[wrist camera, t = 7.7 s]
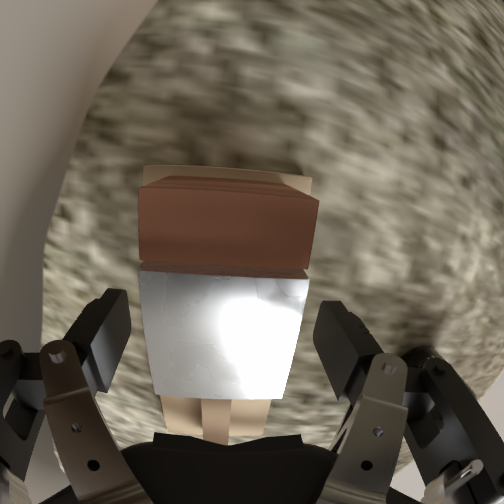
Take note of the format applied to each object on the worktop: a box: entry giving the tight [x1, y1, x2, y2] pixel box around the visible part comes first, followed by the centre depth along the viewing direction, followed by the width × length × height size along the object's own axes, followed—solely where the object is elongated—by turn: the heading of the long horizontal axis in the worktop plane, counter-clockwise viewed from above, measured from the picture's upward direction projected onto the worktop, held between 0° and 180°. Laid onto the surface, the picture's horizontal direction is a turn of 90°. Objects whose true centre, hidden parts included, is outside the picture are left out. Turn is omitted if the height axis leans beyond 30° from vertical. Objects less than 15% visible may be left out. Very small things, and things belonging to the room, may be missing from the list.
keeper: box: [138, 260, 310, 399], centre depth 12 cm, size 6×6×6 cm
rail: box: [138, 165, 319, 445], centre depth 15 cm, size 23×9×7 cm, turn 174°
